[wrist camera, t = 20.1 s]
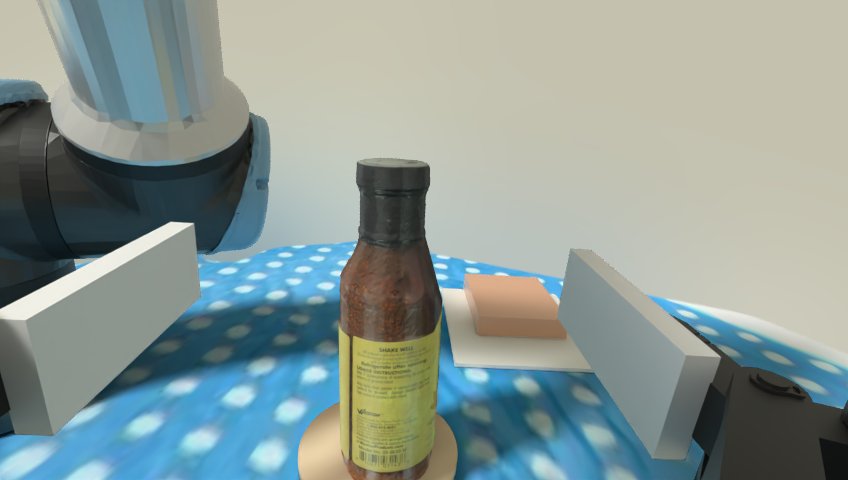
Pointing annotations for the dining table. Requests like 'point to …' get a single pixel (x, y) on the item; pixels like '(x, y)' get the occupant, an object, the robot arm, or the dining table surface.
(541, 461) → the dining table surface
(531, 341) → the white mat
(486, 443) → the dining table surface
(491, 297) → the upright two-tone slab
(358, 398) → the sauce bottle
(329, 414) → the cork coaster
